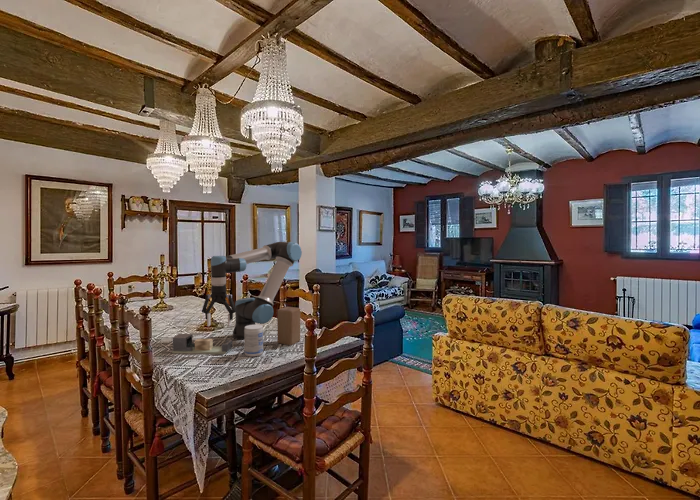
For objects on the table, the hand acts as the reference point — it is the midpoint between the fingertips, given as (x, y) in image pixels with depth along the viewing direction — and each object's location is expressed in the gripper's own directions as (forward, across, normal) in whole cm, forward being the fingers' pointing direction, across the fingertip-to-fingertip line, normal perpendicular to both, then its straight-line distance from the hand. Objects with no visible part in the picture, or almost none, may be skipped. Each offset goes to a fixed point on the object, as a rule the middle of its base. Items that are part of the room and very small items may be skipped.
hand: (219, 325), depth 193 cm
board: (+14, +9, 0) cm, 17 cm away
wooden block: (+14, -35, -16) cm, 41 cm away
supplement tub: (+14, -20, +4) cm, 24 cm away
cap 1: (+13, +18, 0) cm, 22 cm away
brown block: (+13, +8, 0) cm, 15 cm away
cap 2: (+13, -4, 0) cm, 13 cm away
